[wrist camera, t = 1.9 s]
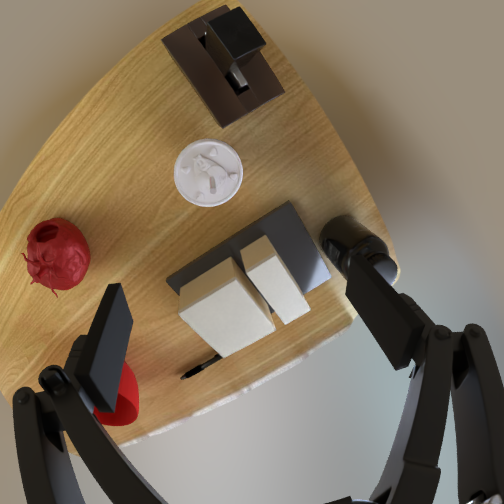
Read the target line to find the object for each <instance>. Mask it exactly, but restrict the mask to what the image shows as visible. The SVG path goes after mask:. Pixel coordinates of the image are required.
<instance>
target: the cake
mask: <svg viewBox="0 0 504 504" xmlns="http://www.w3.org/2000/svg"><path fill="white" fill-rule="evenodd" d="M178 315H179V316H180V317H181V318H182V319H183V320H184V321H185V322H186V323H187V324H188V325H189V326H190V327H191V328H192V329H193V330H194V331H195V332H196V333H198V334H199V335H200V336H201V337H202V338H203V339H204V340H205V341H206V342H207V343H208V344H209V345H210V346H211V347H212V348H213V349H214V350H215V351H216V352H218V353H219V354H220V355H221V356H222V357H223V358H225V357H227V356H229V355H231V354H232V353H234V352H236V351H238V350H240V349H242V348H244V347H246V346H248V345H250V344H251V343H253V342H255V341H257V340H259V339H261V338H263V337H264V336H266V335H268V334H270V333H272V332H273V331H275V330H276V328H275V325H274V322H273V319H272V316H271V313H270V310H269V307H268V304H267V303H266V302H265V300H264V299H263V298H262V296H261V295H260V294H259V292H258V291H257V290H256V289H255V287H254V286H253V285H252V283H251V282H250V281H249V279H248V278H247V277H246V275H245V274H244V273H243V271H242V270H241V269H240V267H239V266H238V265H237V264H236V262H235V261H234V260H233V258H232V257H229V258H227V259H226V260H224V261H223V262H221V263H219V264H218V265H216V266H215V267H213V268H211V269H210V270H208V271H207V272H205V273H203V274H202V275H200V276H199V277H197V278H196V279H194V280H192V281H191V282H189V283H188V284H186V285H184V286H183V287H181V288H180V298H179V311H178Z"/></svg>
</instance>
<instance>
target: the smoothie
mask: <svg viewBox="0 0 504 504" xmlns="http://www.w3.org/2000/svg"><path fill="white" fill-rule="evenodd" d="M242 177H243V168H242V163H241V160H240V158H239V156H238V154H237V153H236V151H235V150H234V149H233V148H232V147H231V146H230V145H228V144H227V143H225V142H223V141H220V140H217V139H209V138H206V139H201V140H197V141H195V142H193V143H191V144H189V145H188V146H187V147H186V148H184V149H183V150H182V152H181V153H180V154H179V156H178V157H177V160H176V163H175V166H174V180H175V184H176V187H177V189H178V191H179V192H180V194H181V195H182V196H183V197H184V198H185V199H186V200H188V201H189V202H191V203H193V204H195V205H198V206H203V207H212V206H217V205H220V204H222V203H224V202H226V201H228V200H229V199H230V198H232V197H233V196H234V195H235V193H236V192H237V191H238V189H239V187H240V185H241V182H242Z"/></svg>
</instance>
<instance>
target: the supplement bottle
mask: <svg viewBox="0 0 504 504" xmlns="http://www.w3.org/2000/svg"><path fill="white" fill-rule="evenodd" d="M320 247H321V250H322V251H323V253H324V254H325V255H326V257H327V258H328V259H329V260H330V261H331V263H332V264H333V265H334V266H335V267H336V269H337V270H338V271H339V272H340V273H341V275H342V276H343V277H344V278H345V279H346V280H347V279H348V272H349V264H350V256H355V255H363V256H364V257H365V258H366V259H367V261H368V262H369V263H370V264H371V265H372V266H373V267H374V268H375V269H376V270H377V271H378V272H379V273H380V274H381V275H382V276H383V278H384V279H385V280H386V281H387V282H388V283H389V284H390V285H392V284H393V282H394V281H395V278H396V275H397V265H396V263H395V261H393V260H392V259H391V258H390V256H389V251H388V248H387V246H386V244H385V243H384V242H383V241H382V240H381V239H380V238H379V237H378V236H376V235H375V234H374V233H372V232H371V231H370V230H368V229H367V228H366V227H365V226H363V225H362V224H361V223H359V222H358V221H356V220H355V219H354V218H352V217H349V216H338V217H335V218H333V219H331V220H330V221H329V222H328V223H327V224H326V225H325V226H324V228H323V229H322V231H321V234H320Z"/></svg>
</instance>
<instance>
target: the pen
mask: <svg viewBox="0 0 504 504" xmlns="http://www.w3.org/2000/svg"><path fill="white" fill-rule="evenodd" d="M222 358H223V357H222V356H221V355H220V354H219V353H218V354H217V355H215V356H214V357H213V358H212V359H210V360H208V361H207V362H205V363H203V364H201V365H199V366H197V367H195V368H193V369H192V370H190V371H188V372H186V373H185V374H184V375H183V376H182V377H181V378H180V379H181V380H182V379H186V378H189V377H191V376H193V375H195V374H197V373H199V372H200V371H202V370H204V369H205V368H206V367H208V366H210V365H212V364H213V363H215V362H217V361H218V360H220V359H222Z"/></svg>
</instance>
